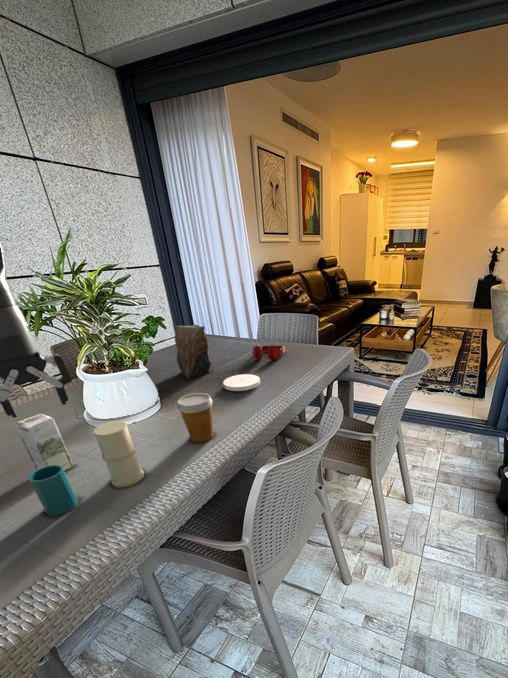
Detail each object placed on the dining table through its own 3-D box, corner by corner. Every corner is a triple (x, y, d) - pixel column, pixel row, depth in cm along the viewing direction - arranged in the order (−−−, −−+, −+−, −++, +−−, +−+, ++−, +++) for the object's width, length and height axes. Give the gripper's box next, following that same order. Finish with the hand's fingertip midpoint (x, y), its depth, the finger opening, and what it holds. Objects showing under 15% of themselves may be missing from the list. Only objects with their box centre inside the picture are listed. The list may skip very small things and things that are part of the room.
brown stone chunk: (178, 372, 155) (167, 326, 146) (206, 366, 161) (198, 321, 152) (187, 379, 146) (176, 331, 137) (216, 373, 152) (207, 326, 143)
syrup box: (61, 461, 93) (38, 412, 86) (75, 467, 91) (53, 416, 84) (38, 473, 89) (12, 422, 82) (52, 479, 86) (26, 427, 79)
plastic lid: (222, 383, 141) (221, 377, 140) (257, 378, 145) (256, 372, 144) (225, 395, 129) (224, 389, 128) (263, 390, 133) (262, 383, 132)
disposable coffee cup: (220, 427, 107) (213, 391, 102) (217, 443, 99) (209, 404, 93) (188, 431, 106) (179, 394, 100) (182, 447, 98) (172, 408, 92)
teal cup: (39, 513, 75) (21, 479, 71) (63, 496, 80) (47, 463, 76) (61, 517, 74) (44, 483, 70) (84, 499, 79) (69, 466, 74)
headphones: (280, 361, 162) (287, 354, 181) (279, 345, 160) (286, 340, 178) (248, 361, 163) (259, 355, 182) (247, 346, 161) (257, 341, 180)
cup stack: (105, 485, 83) (84, 433, 77) (126, 468, 89) (109, 419, 83) (130, 489, 82) (111, 437, 75) (150, 471, 88) (134, 421, 81)
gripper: (47, 322, 72) (75, 395, 80) (-46, 335, 64) (-5, 415, 72) (52, 327, 67) (82, 404, 75) (-48, 342, 59) (-3, 427, 67)
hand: (40, 409), depth 74 cm, fingers open, 8 cm apart
